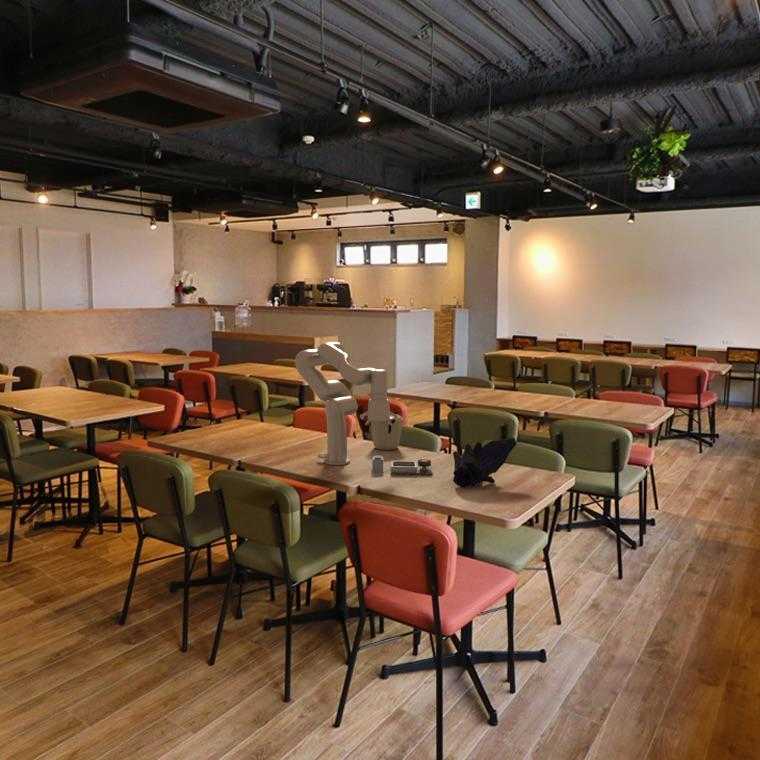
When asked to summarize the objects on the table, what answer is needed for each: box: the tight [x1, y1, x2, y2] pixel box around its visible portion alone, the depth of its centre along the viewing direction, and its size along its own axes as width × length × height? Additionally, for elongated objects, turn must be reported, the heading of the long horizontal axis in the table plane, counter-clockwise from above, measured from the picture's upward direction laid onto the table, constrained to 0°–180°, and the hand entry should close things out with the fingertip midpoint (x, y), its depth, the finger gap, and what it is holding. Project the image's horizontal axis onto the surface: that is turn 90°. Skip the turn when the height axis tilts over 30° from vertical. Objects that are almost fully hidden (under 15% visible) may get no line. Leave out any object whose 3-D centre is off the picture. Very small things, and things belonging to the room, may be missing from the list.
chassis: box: [390, 460, 434, 477], centre depth 291 cm, size 19×12×4 cm, turn 90°
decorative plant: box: [452, 437, 518, 488], centre depth 275 cm, size 21×26×30 cm
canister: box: [370, 413, 405, 451], centre depth 336 cm, size 18×18×21 cm
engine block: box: [371, 455, 384, 474], centre depth 292 cm, size 5×6×7 cm
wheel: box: [417, 458, 432, 467], centre depth 291 cm, size 6×6×2 cm
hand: (378, 433), depth 290 cm, fingers open, 9 cm apart
